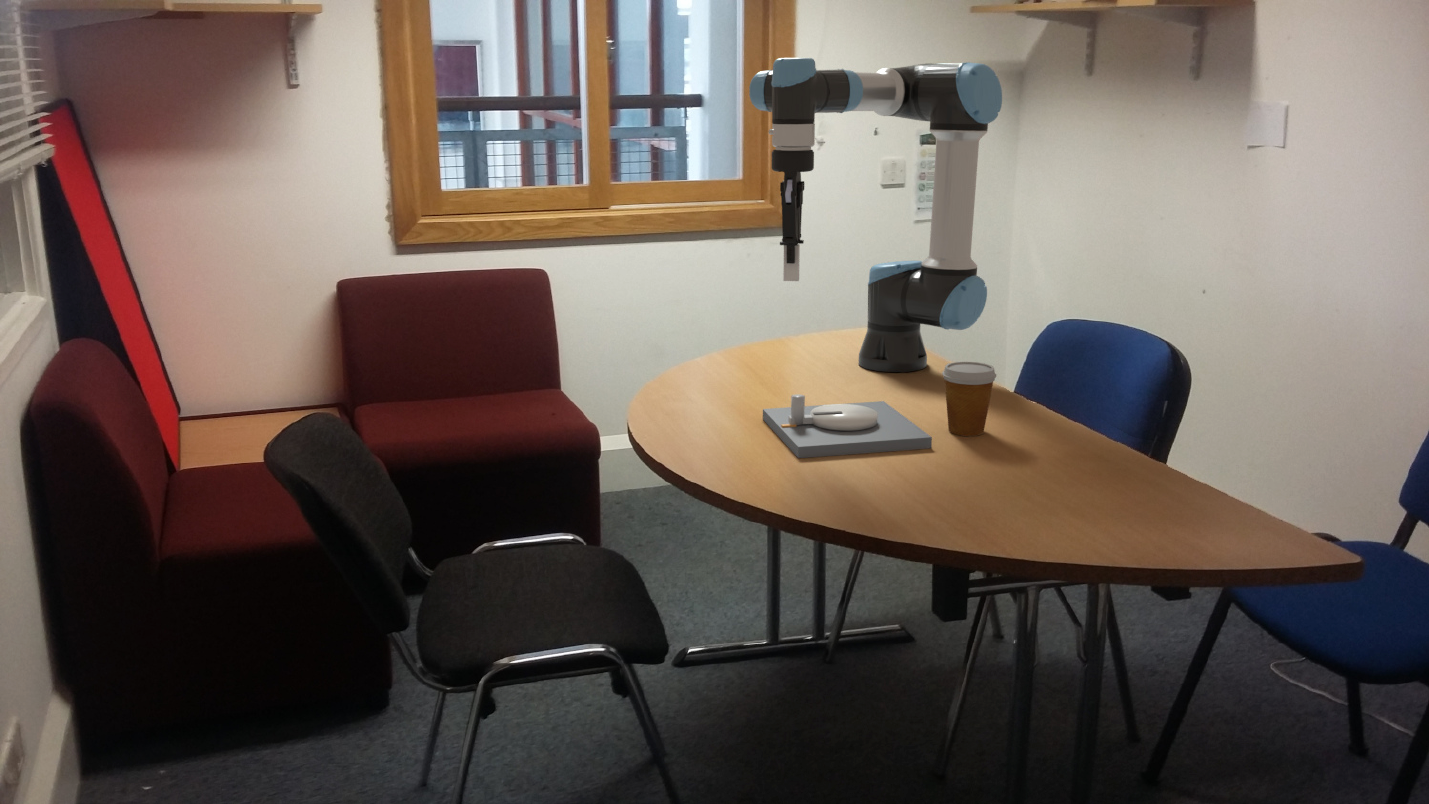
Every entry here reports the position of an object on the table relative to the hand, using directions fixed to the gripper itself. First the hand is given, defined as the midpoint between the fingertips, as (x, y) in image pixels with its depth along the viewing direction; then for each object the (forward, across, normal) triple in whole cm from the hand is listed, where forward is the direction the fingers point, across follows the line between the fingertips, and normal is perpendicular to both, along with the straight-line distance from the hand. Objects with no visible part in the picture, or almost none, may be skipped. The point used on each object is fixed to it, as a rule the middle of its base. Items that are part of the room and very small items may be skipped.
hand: (791, 280), depth 212 cm
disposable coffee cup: (+27, +2, +33) cm, 42 cm away
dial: (+24, +8, +9) cm, 27 cm away
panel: (+26, +7, +11) cm, 29 cm away
